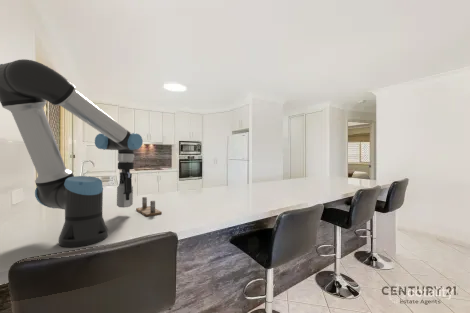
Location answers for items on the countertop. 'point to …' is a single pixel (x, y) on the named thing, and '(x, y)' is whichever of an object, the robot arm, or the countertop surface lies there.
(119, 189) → the can
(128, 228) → the countertop surface
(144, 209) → the peg cradle
